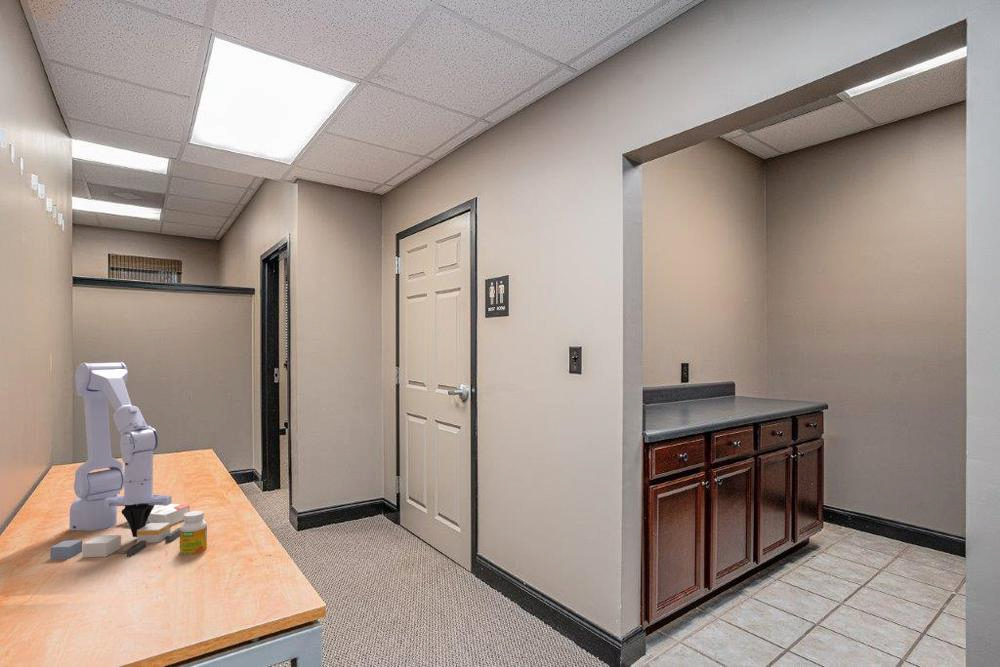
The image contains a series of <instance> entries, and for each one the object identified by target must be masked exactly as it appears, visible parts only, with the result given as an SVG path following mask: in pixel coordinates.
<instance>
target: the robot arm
mask: <svg viewBox="0 0 1000 667" xmlns="http://www.w3.org/2000/svg"><path fill="white" fill-rule="evenodd" d="M74 374H75V375H74V378H75V389H76V390H75V391H76V396H79V397H82V398H83V405H84V416H85V417H84V419H85V433H86V449H87V450H86V451H87V460H86V461H84V462H83V463H82V464H81V465H80V466H79V467H77V469H75V472H74V476H75V477H74V482H73V489H74V494H75V495H76V499H74V501H72V504H71V505H70V508H69V531H98V530H104V529H107V528H111V527H114V526H116V525H117V524H118V507H124V508H123V509H121V510H122V512H121V514H122V515H123V516H124V518H125V519H126V522H127V521H128V523H129V525H128V526H129V527H130V531H131V535H132V537H133V538H137V530H138V529H140V528H142V527H144V526H145V525H146V522H147V519H148V517H149V515H150V513H151V511H152V509H153V508H154V505H163V506H167V505H169V504H172V495H164V494H163V495H162V494H153V490H154V489H153V485H154V484H153V482H154V481H153V479H154V473H153V472H154V452H155V451H156V450H157V449H158V446H159V434H158V432H157V430H156V429H155V428H153V427H152V426H151V425H148V424H147V422H146V421H145V418H144V416H143V414H142V412H141V410H140V408H139V407H138V406H136V405H132V401H131V398H130V396H129V392H128V389H127V386H126V384H127V381H128V374H129V371H128V367H127V366H126V364H125V363H124V362H123V361H116V362H81V363H79V365H78V366H77V368H76V371H75V373H74ZM108 401H109V404H110V405H111V406H112V408H113V409H114V413H113V415H112V419H113V422H114V424H115V427H116V428H117V431H118V433H119V435H120V441H119V449H120V452H121V460H122V461H120V460H118V459H116V458H114V457H112V448H111V446H112V444H111V436H110V433H111V432H110V421H109V420H110V419H109V406H108ZM123 463H124V466H123ZM103 469H105V470H103ZM98 470H99V471H98ZM123 489H124V491H123V492H124V493H123V495H121V496H118V495H120V494H121V491H122V490H123Z"/></svg>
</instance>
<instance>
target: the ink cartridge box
mask: <svg viewBox="0 0 1000 667" xmlns="http://www.w3.org/2000/svg"><path fill="white" fill-rule="evenodd" d="M190 507H191V506H190V505H187V504H177V503H171V504H169V505H167V506H163V505H154V508H153V509H152V511H151V513H150V515H149V517H148V519H147V522H146V525H147V524H149V523H171V526H172V525H174V524H177V523H179V522H181V521H184V514H185V513H188V512H190ZM122 510H123V509H121V510H119V511H118V512H120V513H122ZM126 525H127V526H129V523H128V521H127V520H126ZM146 525H145V526H146Z"/></svg>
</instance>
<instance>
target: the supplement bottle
mask: <svg viewBox="0 0 1000 667" xmlns="http://www.w3.org/2000/svg"><path fill="white" fill-rule="evenodd" d="M204 515H205V514H204V511H203V510H191V511H189V512H188V513H185V514H184V520H183V523H182V524H181V525H180V526H179V528H180V536H179V554H180V555H183V556H184V555H187V556H188V555H189V556H190V555H196V554H200V553H202V552H205V551H206V550H207V548H208V547H207V546H208V543H207V540H208V539H207V538H208V534H207V533H208V523H207V521H206V520H204Z"/></svg>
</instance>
